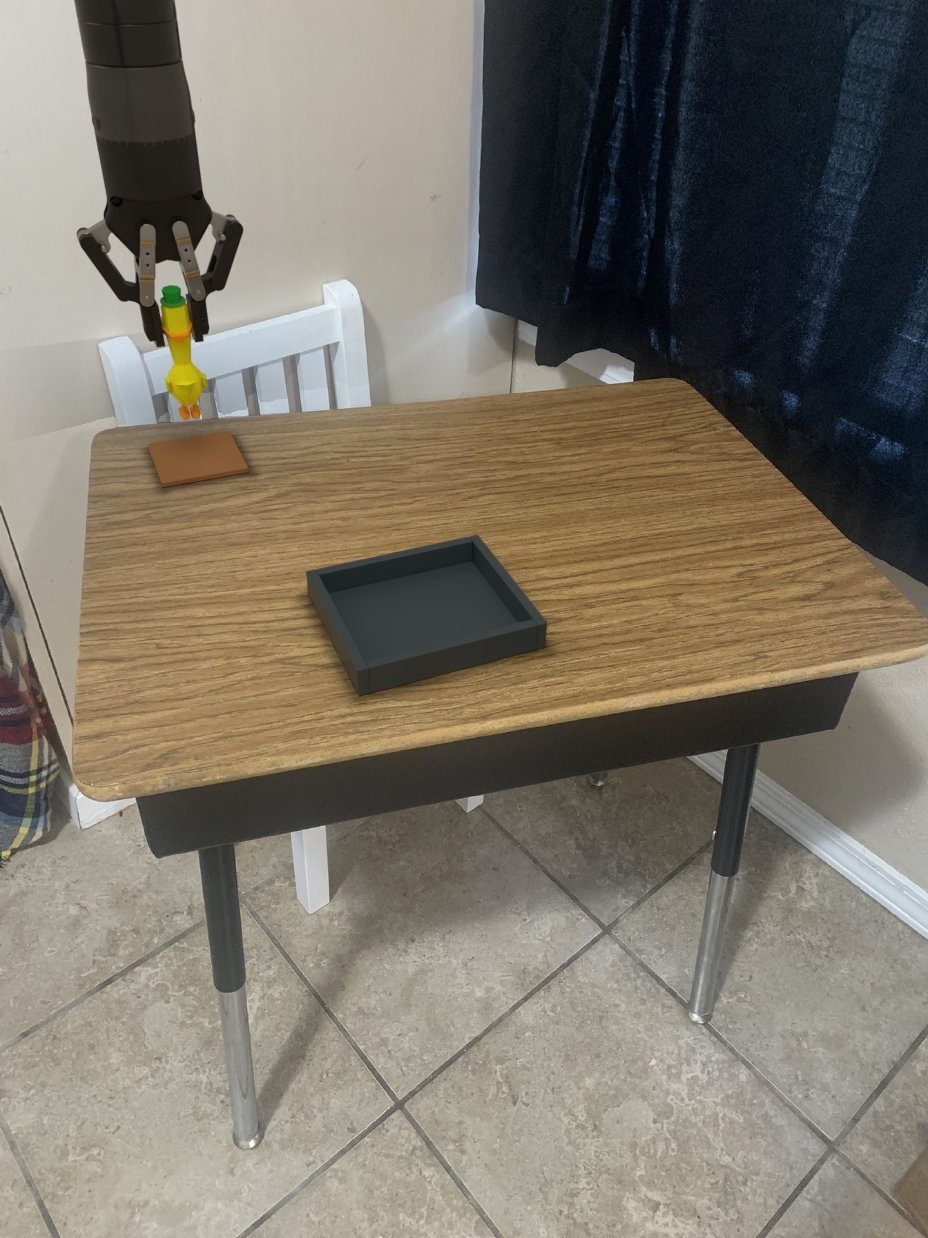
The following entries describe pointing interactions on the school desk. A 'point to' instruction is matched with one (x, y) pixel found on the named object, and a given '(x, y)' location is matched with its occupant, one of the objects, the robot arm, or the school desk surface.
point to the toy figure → (181, 353)
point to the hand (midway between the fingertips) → (178, 340)
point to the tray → (423, 613)
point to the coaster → (197, 458)
